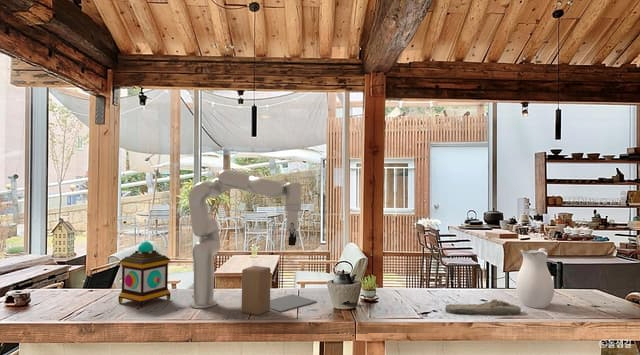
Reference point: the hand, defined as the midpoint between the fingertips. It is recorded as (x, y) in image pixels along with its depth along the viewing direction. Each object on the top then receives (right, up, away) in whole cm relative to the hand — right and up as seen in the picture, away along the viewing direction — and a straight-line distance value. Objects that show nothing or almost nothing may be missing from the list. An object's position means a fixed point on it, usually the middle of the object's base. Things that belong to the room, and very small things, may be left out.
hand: (292, 243), depth 198 cm
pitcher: (+123, -32, +11) cm, 127 cm away
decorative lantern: (-74, -30, +8) cm, 80 cm away
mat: (-3, -31, +8) cm, 32 cm away
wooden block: (-16, -31, -6) cm, 35 cm away
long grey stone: (+89, -32, -3) cm, 95 cm away
